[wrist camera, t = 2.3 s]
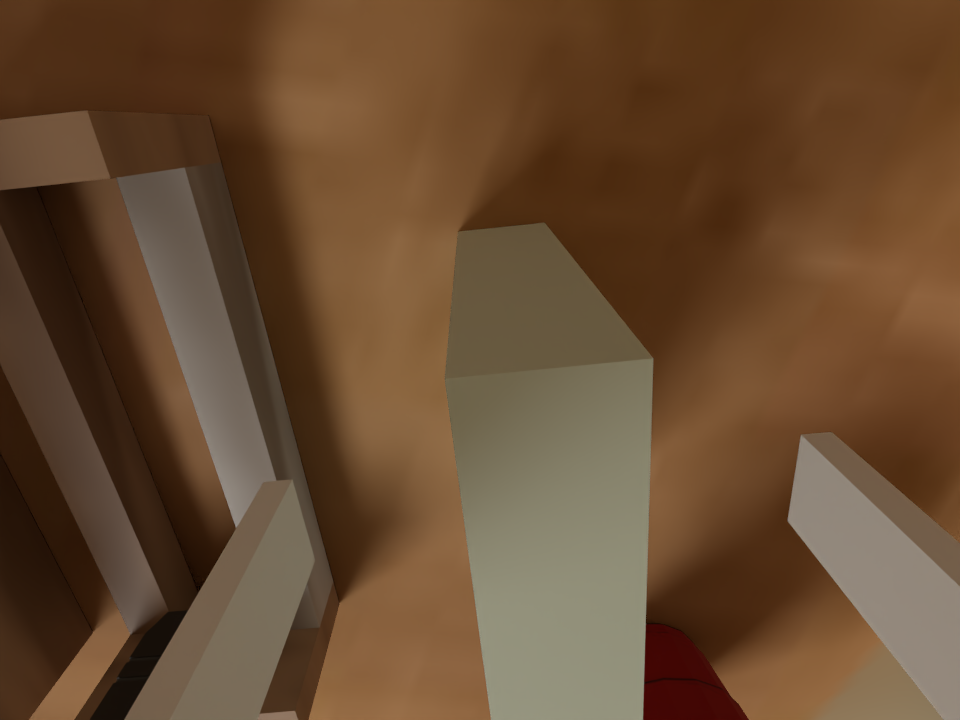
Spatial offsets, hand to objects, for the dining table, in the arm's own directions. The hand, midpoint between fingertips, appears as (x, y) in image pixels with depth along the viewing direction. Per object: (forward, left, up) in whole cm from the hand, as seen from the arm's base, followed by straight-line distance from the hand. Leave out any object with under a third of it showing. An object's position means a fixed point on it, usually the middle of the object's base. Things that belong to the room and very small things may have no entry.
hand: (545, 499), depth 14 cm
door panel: (0, 0, -7) cm, 7 cm away
